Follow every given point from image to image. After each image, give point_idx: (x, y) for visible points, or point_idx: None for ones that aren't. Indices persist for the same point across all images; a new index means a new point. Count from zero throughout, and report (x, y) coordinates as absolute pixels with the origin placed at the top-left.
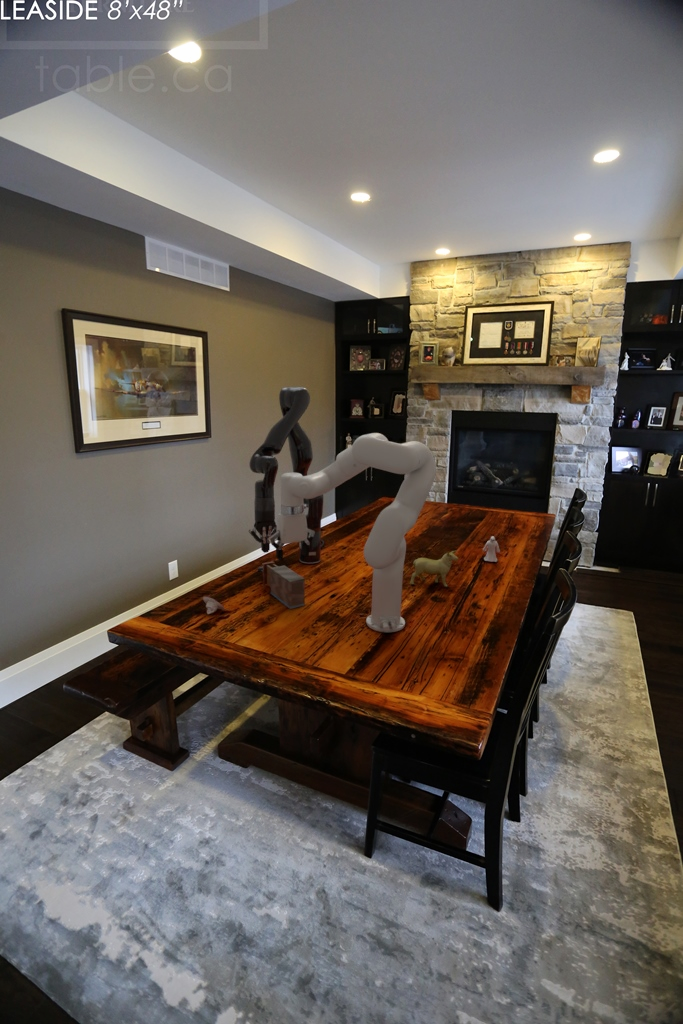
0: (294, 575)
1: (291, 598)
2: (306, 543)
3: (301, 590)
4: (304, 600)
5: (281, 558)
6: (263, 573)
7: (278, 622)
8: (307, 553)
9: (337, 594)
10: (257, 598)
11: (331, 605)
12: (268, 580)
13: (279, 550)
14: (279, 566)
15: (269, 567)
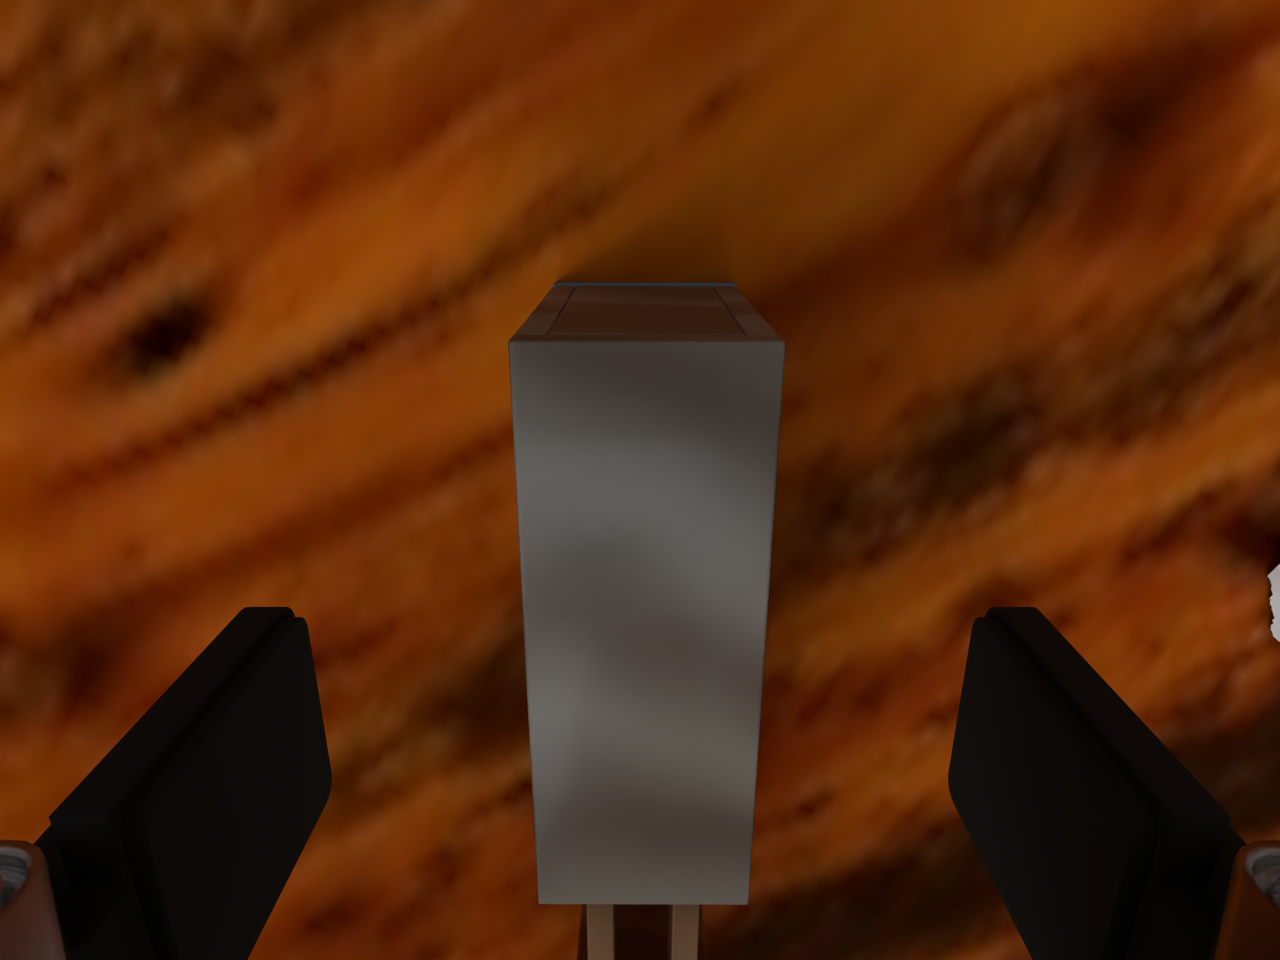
0: (591, 534)
1: (727, 299)
2: (43, 907)
3: (582, 310)
4: (551, 290)
5: (1055, 637)
6: (704, 950)
7: (1011, 41)
8: (224, 638)
9: (103, 347)
10: (871, 655)
11: (282, 118)
12: None
13: (1213, 860)
14: (615, 898)
15: (697, 957)
